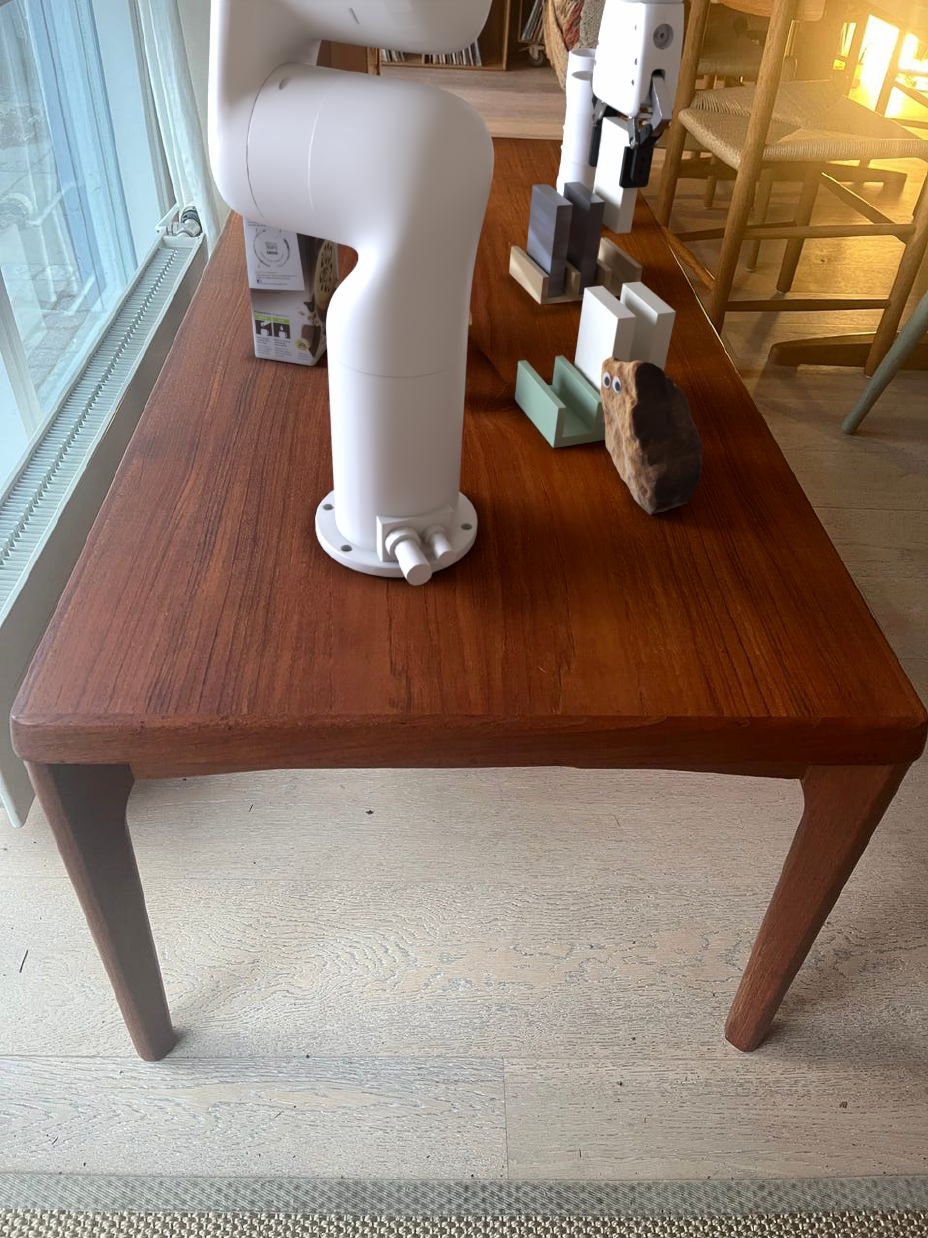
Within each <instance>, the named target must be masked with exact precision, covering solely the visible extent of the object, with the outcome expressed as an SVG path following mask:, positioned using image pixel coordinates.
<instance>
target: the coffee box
mask: <svg viewBox="0 0 928 1238" xmlns="http://www.w3.org/2000/svg"><path fill="white" fill-rule="evenodd" d="M242 225H243V234H244V235H243V238H244V246H245V247H244V248H245V258H246V268H247V280H248V289H249V290H248V291H249V298H250V309H251V310H250V311H251V320H252V321H251V322H252V332H253V342H254V355H255V357H256V358H258V359H259V358H260V359H265V360H272V361H277V362H279V361H280V362H285V363H290V364H297V365H302V366H303V365H304V366H310V367H313V366H316V364H317V362H318V361H319V359H320V358H321V356H322V355H323V354H324V353H325V351H326V350H327V335H326V319H327V312H328V308H329V304H330V301H331V299H332V297H333V295H334V293H335V291H336V290H337V288H338V287H339V286H340V278H339V277H340V275H339V274H340V273H339V256H338V255H339V253H338V252H339V251H338V243H336V242H333V241H331V240H327V239H322V238H318V237H313V236H309V235H305V234H300V233H296V232H291V231H287V230H282V229H279V228H275V227H270V226H267V225H263V224H260V223H257V222H253V221H251V220H248V219H246V218H244V217H243V216H242Z"/></svg>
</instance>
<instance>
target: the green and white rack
mask: <svg viewBox="0 0 928 1238" xmlns="http://www.w3.org/2000/svg"><path fill="white" fill-rule="evenodd" d="M676 314H677V311H676V310H674V308H672V307H671V306H670V305H669V304H668V303H666V302H665V301H664V300H663V299H661V298H660V297H659V296H658V295H657V294H656V293H654V292H653V291H652V290H651V289H650V288H648V286H647V285H645V284H644V283H643V282H642V281H640V282H632V283H623V286H622V292H621V295H620V300H619V299H618V298H616V296H613V295H612V294H611V293H610V292H609V291H608V290H607V289H605V288H604V287H603V286H596V287H587V288H585V290H584V298H583V300H582V305H581V313H580V319H579V326H578V336H577V342H576V349H575V357H574V365H573V364H571V362H570V361H569V360H568V359H567V358H566V357H565V356H564V355H556V356H555V359H554V369H553V376H552V384H550V385H548V383H546V382H545V380H544V379H543V378H542V376H540V374H538V372H537V371H536V370H535V369H534V368H533V366H532V365H531V364H530V363H529V361H528V360H526V359H523V360H519V361H518V362H517V370H516V371H517V372H516V382H515V393H514V400H515V402H516V403H517V404H518V405H519V407H520V408H521V409H522V411H523V412H524V413H525V415H526V416H527V417H528V418H529V420H531V422H532V423H533V425H534V426H535V427H536V428H537V430H538V431H539V433H541V435H542V436H543V437H544V438H545V440H546V441H547V442H548V443H549V445H550V446H551V448H553V449H557V448H562V447H570V446H575V445H581V444H586V443H593V442H600V441H605V427H606V423H605V414H604V410H603V406H602V401H601V395H600V390H601V372H602V363H603V362H604V361H605V360H606V359H608V358H609V357H616V358H617V359H619V360H622V361H626V362H628V363H629V362H633V361H637V360H639V361H643V362H648V363H653V364H654V365H656V366H657V367H659V368H661V369H662V370H663V371H664V372H665V368H666V362H667V357H668V351H669V347H670V342H671V337H672V333H673V327H674V323H675V318H676ZM667 376H668V375H666V377H667ZM674 385H676V384H675V383H674Z"/></svg>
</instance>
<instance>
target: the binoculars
mask: <svg viewBox="0 0 928 1238" xmlns="http://www.w3.org/2000/svg"><path fill="white" fill-rule="evenodd" d="M596 49H597V48H590V47H581V48H573V49H570V50H569V51H568V61H567V70H566V71H567V72H566V80H565V83H566V84H565V89H566V93H565V95H566V96H565V97H566V111H565V118H564V119H565V120H564V125H563V126H562V129H563V137H562V144H561V146H560V149H561V156H560V164H559V171H558V176H557V179H556V191H557V192H558V193H559V194H561V195H562V196H563V192H564V183H567V182H580V183H581V184H583V185H584V186H585V187H587V188H588V189H589V190H591V191H592V192H593V189H594V182H595V175H596V168H597V167H592V166H590V165H589V164H588V160H589V153H590V145H591V137H592V130H593V126H597V125H593V124H592V115H593V112H594V108H593V104H592V97H593V95H592V90H591V85H590V77H591V75H592V74H593V71H594V63H595V55H596Z"/></svg>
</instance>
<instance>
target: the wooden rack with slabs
mask: <svg viewBox="0 0 928 1238" xmlns="http://www.w3.org/2000/svg"><path fill="white" fill-rule="evenodd" d="M531 189H532V190H531V200H530V201H531V202H530V210H529V211H530V212H529V221H528V232H527V243H526V253H525V251H524V250H523V249H522V248H520V246H518V245H511V247H510V259H509V272H508V273H509V274H510V275H511V276H512V277H513V278H514V279H515V280H516V281H517V283H519V284H520V286H522V287H523V289H524V290H525V291H527V293H528V294H529V295H530V296H531V297H532V298H533V299H534V300H535V301H536V302H537V303H538V304H539V305H550V304H556V303H565V302H575V301H583V298H584V290H585V288H587V287H596V286H603V287H604V288H605V289H607V290H608V291H609V292H610V293H611V294H612V295H613V296H614V297H617V296H619V297H621V292H622V286H623V283H632V282H641V279H642V273H643V266H642V265H641V264H640V263H639V262H637V261H636V260H635V259H634V258H632V256H630V255H629V253H628V254H627V253H626V252H625V251H624V250H623V249H622V248H620V247H619V246H618V245H617V244H616V243H614V242H613V240H611V239H610V238H608V237H607V236H606V237H605V236H604V237H601V236H602V235H601V234H602V228H603V223H602V221H603V214H604V207H605V201H603V200H602V199H601V198H600V197H598V196H597V195H596V194H594V193H593V192H592V191H591V190H589V189H588V188H587V187H585V186H584V185H583V184H581V183H580V182H567V183H564V192H563V196H562V195H561V194H559V193H558V192H557V189H555V188H554V187H552V186H551V185H549V184H548V183H541V184H532V188H531Z"/></svg>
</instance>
